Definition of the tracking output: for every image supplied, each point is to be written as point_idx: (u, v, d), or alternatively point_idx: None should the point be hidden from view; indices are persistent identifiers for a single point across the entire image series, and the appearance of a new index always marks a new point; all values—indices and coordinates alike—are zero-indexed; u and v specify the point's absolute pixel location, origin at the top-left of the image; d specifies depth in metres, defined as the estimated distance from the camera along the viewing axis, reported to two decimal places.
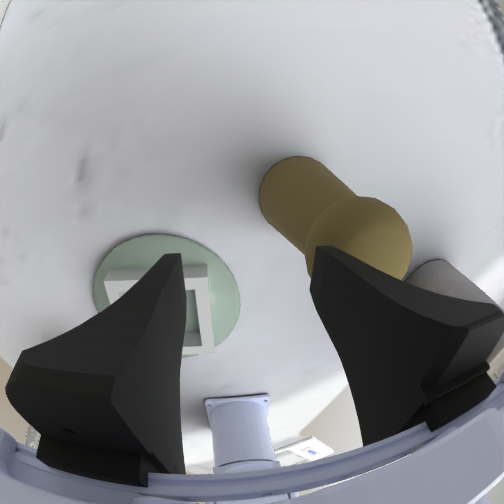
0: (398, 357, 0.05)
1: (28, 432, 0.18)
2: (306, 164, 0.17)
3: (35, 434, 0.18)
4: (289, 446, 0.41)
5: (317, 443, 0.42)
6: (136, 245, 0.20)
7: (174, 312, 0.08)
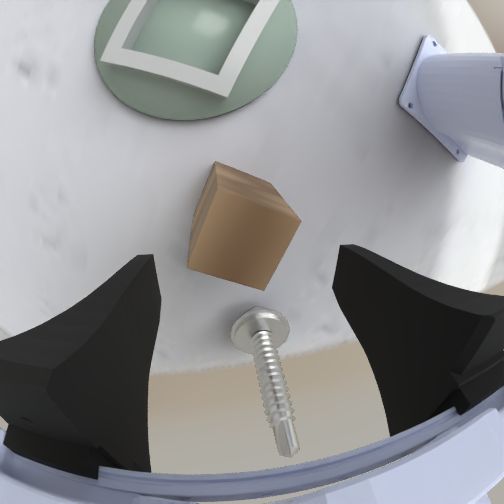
0: (428, 347, 0.06)
1: (267, 411, 0.16)
2: None
3: (276, 403, 0.15)
4: None
5: None
6: (103, 25, 0.11)
7: (142, 313, 0.08)
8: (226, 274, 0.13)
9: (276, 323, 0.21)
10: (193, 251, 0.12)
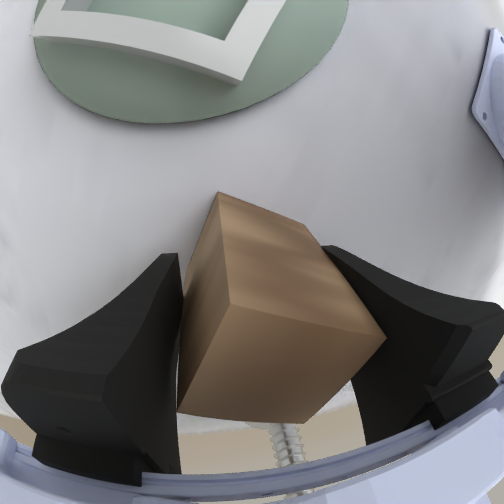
0: (402, 356, 0.05)
1: None
2: None
3: None
4: None
5: None
6: None
7: (170, 312, 0.08)
8: (246, 416, 0.07)
9: None
10: (185, 395, 0.06)
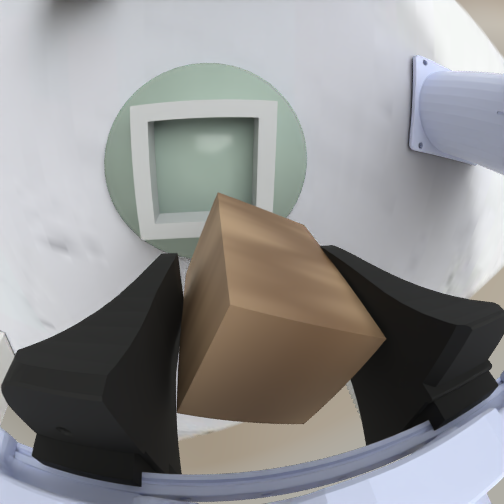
0: (401, 356, 0.05)
1: None
2: None
3: None
4: None
5: None
6: (115, 192, 0.16)
7: (170, 312, 0.08)
8: (246, 416, 0.07)
9: None
10: (185, 395, 0.06)
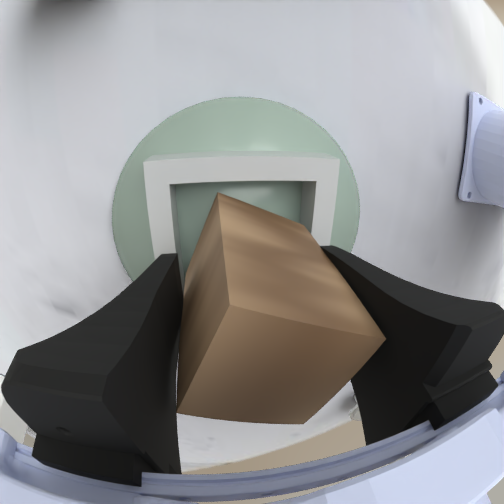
0: (401, 356, 0.05)
1: None
2: None
3: None
4: None
5: None
6: (128, 260, 0.14)
7: (170, 312, 0.08)
8: (246, 417, 0.07)
9: None
10: (185, 395, 0.06)
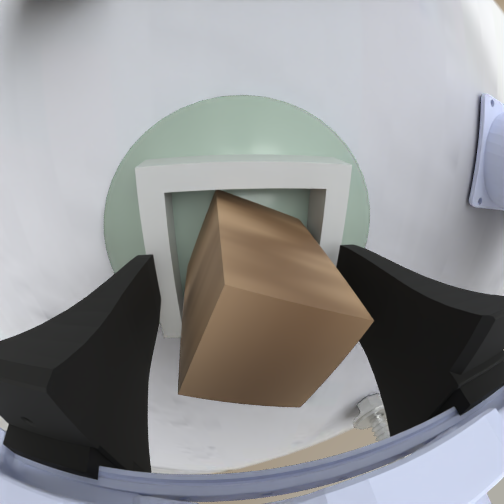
0: (428, 347, 0.06)
1: None
2: None
3: None
4: None
5: None
6: None
7: (142, 313, 0.08)
8: (244, 398, 0.07)
9: None
10: (186, 376, 0.07)
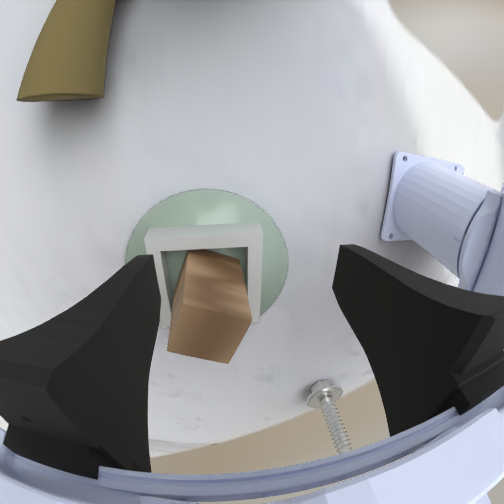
0: (428, 347, 0.06)
1: (336, 447, 0.25)
2: None
3: (339, 443, 0.24)
4: None
5: None
6: None
7: (142, 313, 0.08)
8: (197, 354, 0.16)
9: (332, 391, 0.30)
10: (170, 341, 0.15)
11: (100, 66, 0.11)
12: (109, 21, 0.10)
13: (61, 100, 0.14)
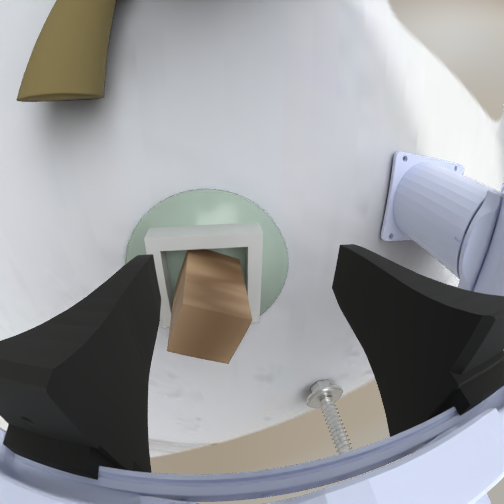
0: (428, 347, 0.06)
1: (336, 447, 0.25)
2: None
3: (339, 443, 0.24)
4: None
5: None
6: None
7: (142, 313, 0.08)
8: (197, 354, 0.16)
9: (332, 391, 0.30)
10: (170, 341, 0.15)
11: (100, 66, 0.11)
12: (109, 21, 0.10)
13: (61, 100, 0.14)
